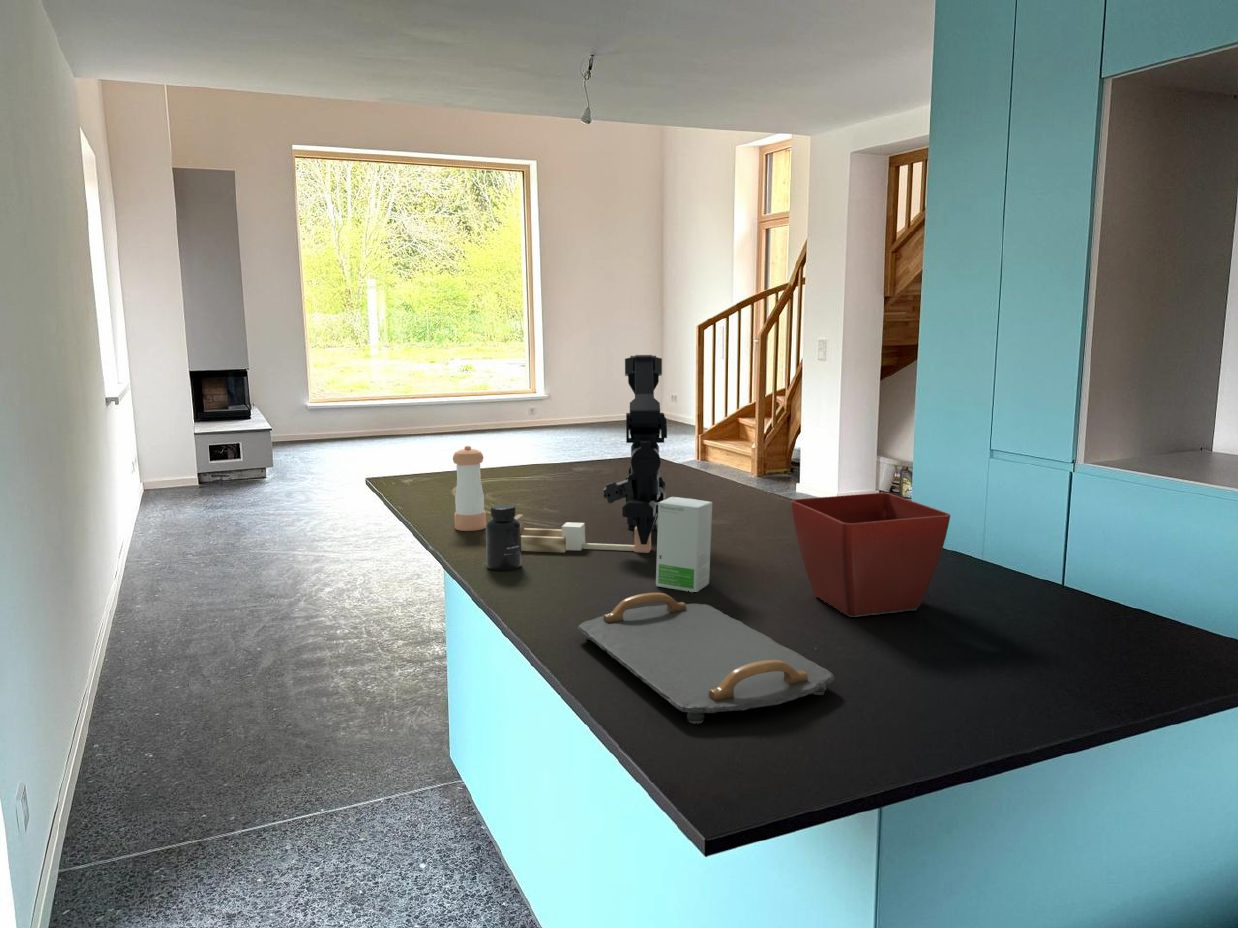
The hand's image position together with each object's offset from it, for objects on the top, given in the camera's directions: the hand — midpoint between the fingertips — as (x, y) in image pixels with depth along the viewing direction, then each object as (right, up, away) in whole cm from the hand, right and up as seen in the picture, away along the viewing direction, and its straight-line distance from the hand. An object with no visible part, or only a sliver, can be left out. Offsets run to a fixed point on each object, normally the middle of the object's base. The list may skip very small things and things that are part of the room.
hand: (645, 542), depth 184 cm
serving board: (+5, -12, -60) cm, 62 cm away
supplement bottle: (-28, -4, -11) cm, 30 cm away
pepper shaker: (-40, +1, +23) cm, 46 cm away
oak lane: (-21, -1, +4) cm, 22 cm away
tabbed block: (-8, -2, +2) cm, 8 cm away
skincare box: (+6, -6, -24) cm, 25 cm away
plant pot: (+36, -8, -35) cm, 51 cm away
